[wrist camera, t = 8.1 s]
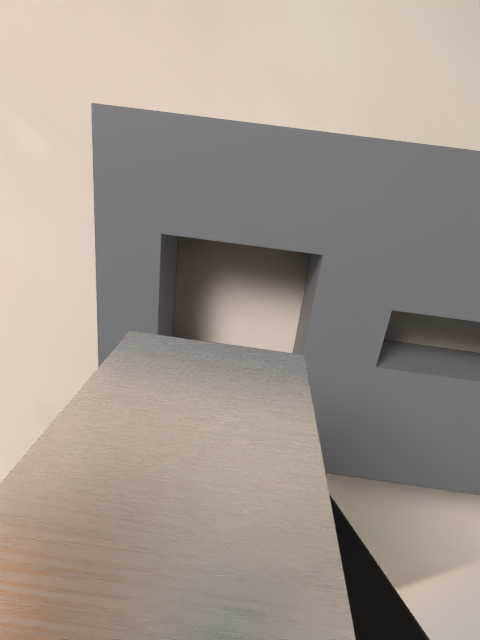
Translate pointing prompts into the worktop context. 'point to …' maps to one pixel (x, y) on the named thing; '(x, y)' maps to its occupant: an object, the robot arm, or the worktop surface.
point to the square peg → (175, 505)
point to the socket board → (312, 268)
